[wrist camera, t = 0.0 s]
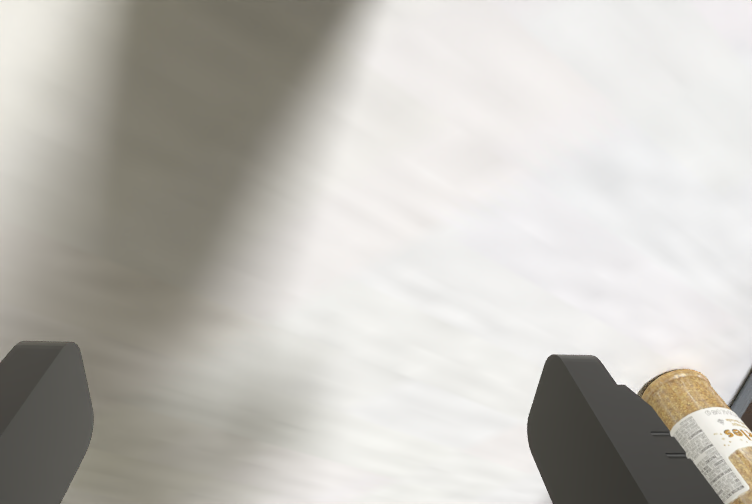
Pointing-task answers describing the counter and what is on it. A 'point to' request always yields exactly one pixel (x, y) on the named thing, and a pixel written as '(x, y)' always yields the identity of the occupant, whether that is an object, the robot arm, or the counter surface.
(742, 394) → the collar deck
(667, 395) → the spice jar
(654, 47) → the counter surface
